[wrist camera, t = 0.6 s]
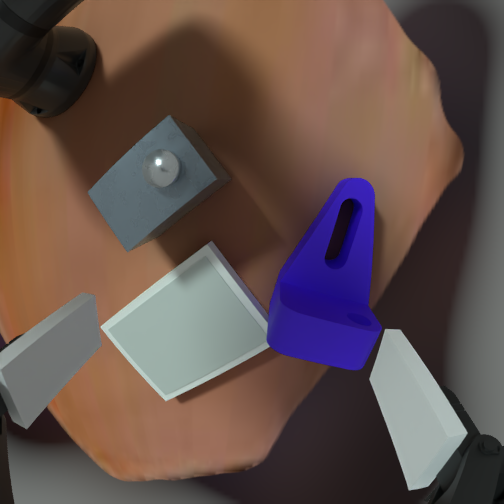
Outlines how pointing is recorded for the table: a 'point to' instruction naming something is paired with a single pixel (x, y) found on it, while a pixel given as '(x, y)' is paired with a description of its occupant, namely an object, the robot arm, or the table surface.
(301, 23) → the table surface
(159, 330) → the tray
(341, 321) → the bracket
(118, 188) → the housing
